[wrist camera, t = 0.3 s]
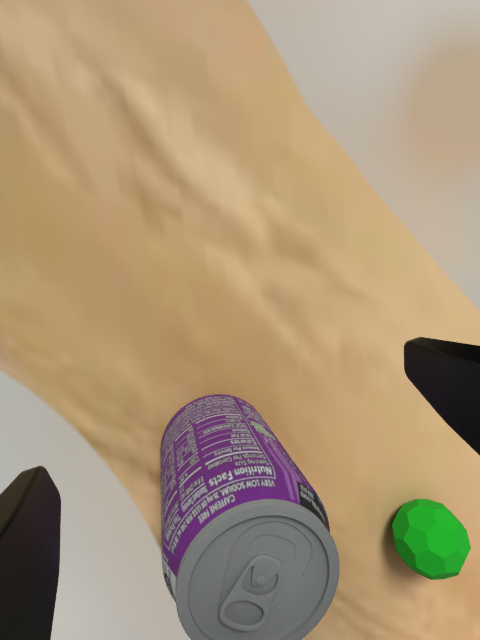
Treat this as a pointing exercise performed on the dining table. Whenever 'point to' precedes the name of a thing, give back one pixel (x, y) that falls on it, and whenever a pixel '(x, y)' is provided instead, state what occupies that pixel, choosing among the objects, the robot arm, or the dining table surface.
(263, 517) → the beverage can
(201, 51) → the dining table surface
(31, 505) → the robot arm
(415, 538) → the polyhedron
